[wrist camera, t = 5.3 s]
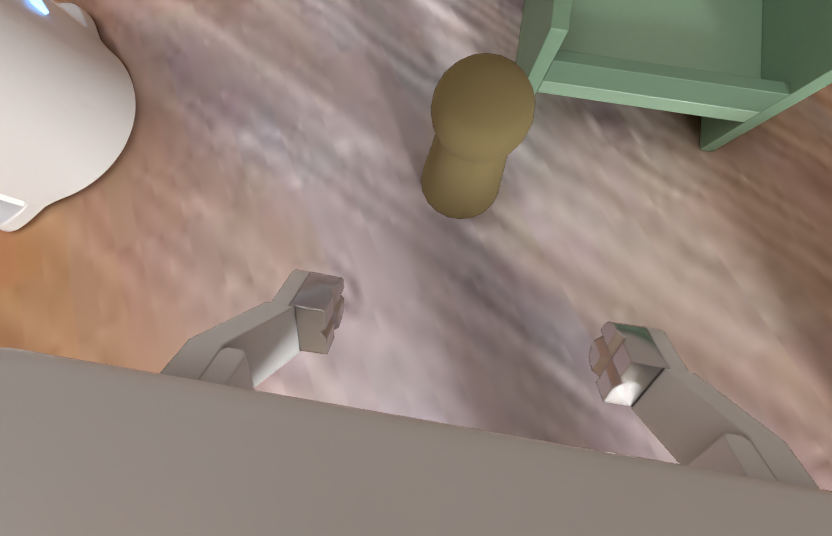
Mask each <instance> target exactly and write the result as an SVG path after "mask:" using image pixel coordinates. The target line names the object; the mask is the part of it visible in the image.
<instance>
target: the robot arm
mask: <svg viewBox="0 0 832 536" xmlns="http://www.w3.org/2000/svg"><path fill="white" fill-rule="evenodd" d="M135 110H136V100H135V91H134V87H133V83H132V80H131V78H130V75H129V73H128V72H127V70H126V68H125V66H124V65H123V64H122V62H121V61H120V60H119V59H118V58H117V56H116V55H115V54H113V53H112V52H111V51H110V50H109V49H108V48H107V47H106V46H105V45H104V44H103V43H102V41H101V40H100V37H99V34H98V31H97V28H96V26H95V23H94V21H93V19H92V18H91V16H90V15H89V14H87V13H86V12H85V11H84V10H82V9H81V8H80V7H79V6H77V5H75V4H73V3H56V2H54V1H53V0H0V230H2V231H7V232H11V231H15V230H17V229H19V228H21V227H22V226H24V225H25V224H26V223H28V222H29V221H30V220H31V219H32V218H33V217H35V216H36V215H37V214H38V213H39V212H40V211H41V210H42V209H43V208H44V207H46V206H47V205H49V204H51V203H53V202H55V201H58V200H60V199H62V198H65V197H67V196H70V195H72V194H74V193H76V192H78V191H80V190H82V189H84V188H85V187H87V186H88V185H90V184H91V183H93V182H94V181H95V180H97V179H98V178H99V177H100V176H101V175H102V174H103V173H105V172H106V171H107V170H108V169H109V167H110V166H111V165H112V164H113V163H114V162H115V160H116V159H117V158H118V156H119V155H120V153H121V152H122V150H123V148H124V147H125V145H126V143H127V141H128V138H129V136H130V133H131V130H132V127H133V123H134V118H135ZM343 289H344V279H343V278H342V277H337V276H332V275H326V274H321V273H316V272H309V271H304V270H298V269H295V270H294V271H292V272H291V274H290V275H289V277H288V278H287V280H286V281H285V283H284V284H283V286H282V287H281V289H280V290H279V292H278V293H277V294H276V296H275V297H274V299H273V300H272V302H265V303H263V304H261V305H259V306H257V307H255V308H252V309H250V310H248V311H246V312H244V313H242V314H240V315H238V316H236V317H234V318H232V319H230V320H228V321H226V322H224V323H221V324H219V325H217V326H215V327H213V328H211V329H209V330H207V331H205V332H203V333H201V334H199V335H197V336H195V337H193V338H191V339H189V340H188V341H187V342H186V343H185V345H184V346H183V347H182V348H181V349H180V350H179V352H178V353H177V354H176V355H175V356H174V357H173V359H172V360H171V361H170V362H169V363H168V364H167V366H166V367H165V368H164V369H163V370H162V371H161V373H160V374H159V373H154V372H148V371H142V370H136V369H131V368H125V367H119V366H113V365H108V364H102V363H96V362H90V361H85V360H79V359H73V358H67V357H62V356H56V355H50V354H45V353H40V352H35V351H30V350H25V349H17V348H9V347H4V348H0V536H832V491H828V490H822V489H819V487H818V486H817V485H816V483H815V482H814V480H813V479H812V478H811V476H810V475H809V474H808V472H807V471H806V470H805V468H804V467H803V465H802V464H801V463H800V461H799V460H798V459H797V457H796V456H795V455H794V453H793V452H792V450H791V449H790V448H789V446H788V445H787V444H786V442H785V441H783V440H782V439H781V438H779V437H778V436H777V435H775V434H774V433H773V432H771V431H770V430H769V429H768V428H766V427H765V426H764V425H762V424H761V423H760V422H758V421H757V420H756V419H754V418H753V417H752V416H750V415H749V414H748V413H746V412H745V411H744V410H742V409H741V408H740V407H738V406H737V405H736V404H734V403H733V402H732V401H731V400H729V399H728V398H727V397H725V396H724V395H723V394H721V393H720V392H719V391H717V390H716V389H715V388H713V387H712V386H711V385H709V384H708V383H707V382H705V381H704V380H703V379H701V378H700V377H699V376H698V375H696V374H695V373H690V372H689V371H688V369H687V368H686V366H685V365H684V363H683V361H682V360H681V358H680V356H679V355H678V353H677V352H676V350H675V348H674V347H673V345H672V343H671V342H670V340H669V339H668V337H667V335H666V334H665V332H664V331H662V330H661V329H658V328H651V327H644V326H642V327H641V326H635V325H629V324H623V323H616V322H610V321H608V322H607V323H605V324H604V326H603V327H602V329H601V333H602V337H600V338H598V339H596V340H594V342H593V344H592V346H591V348H590V353H589V361H590V366H591V369H592V371H594V372H595V373H596V374H597V375H598V376H599V378H598V380H597V382H596V383H597V386H598V389H599V392H600V395H601V398H602V400H603V402H608V403H613V404H618V405H623V406H628V407H632V408H631V409H632V410H633V411H634V412H635V413H636V414H637V415H638V417H639V418H640V419H641V420H642V421H643V422H644V423H645V425H646V426H647V427H648V428H649V429H650V430H651V432H652V433H653V434H654V435H655V436H656V437H657V438H658V440H659V441H660V442H661V443H662V444H663V445H664V446H665V448H666V449H667V450H668V451H669V452H670V453H671V455H672V456H673V457H674V458H675V459H676V460H677V461H678V463H679V464H674V463H668V462H663V461H657V460H651V459H646V458H640V457H634V456H628V455H623V454H617V453H611V452H606V451H600V450H594V449H588V448H583V447H577V446H571V445H565V444H560V443H554V442H548V441H542V440H537V439H531V438H525V437H520V436H514V435H508V434H502V433H497V432H491V431H485V430H480V429H474V428H468V427H463V426H457V425H451V424H445V423H440V422H434V421H428V420H423V419H417V418H411V417H405V416H400V415H394V414H388V413H383V412H377V411H371V410H365V409H360V408H354V407H348V406H342V405H337V404H331V403H325V402H320V401H314V400H308V399H302V398H297V397H291V396H285V395H280V394H274V393H268V392H262V391H257V390H255V389H254V387H255V386H257V385H258V384H259V383H261V382H262V381H263V380H264V379H266V378H267V377H268V376H270V375H271V374H272V373H273V372H275V371H276V370H277V369H279V368H280V367H281V366H283V365H284V364H285V363H286V362H288V361H289V360H290V359H292V358H293V357H294V356H295V355H297V354H298V353H299V352H300V351H307V352H314V353H321V354H328V352H329V350H330V347H331V345H332V342H333V340H334V330H335V329H337V328H338V327H339V325H340V323H341V320H342V316H343V312H344V298H343V296H342V295H341V294H342V292H343Z"/></svg>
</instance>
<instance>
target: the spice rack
mask: <svg viewBox="0 0 832 536" xmlns="http://www.w3.org/2000/svg"><path fill="white" fill-rule="evenodd" d="M516 64H517V65H518V66H519V67H520V68H521V69H522V70H523V71H524V72H525V74H526V76H527V77H528V79H529V81H530V83H531V85H532V87H533V91H534V96H535V94H536V92H541V93H548V94H554V95H561V96H568V97H575V98H582V99H588V100H595V101H602V102H609V103H616V104H622V105H629V106H636V107H643V108H650V109H656V110H663V111H670V112H677V113H684V114H690V115H697V116H701V136H700V150H706V151H714V150H716V149H718V148H719V147H721V146H723V145H725V144H726V143H728V142H730V141H732V140H733V139H735V138H737V137H739V136H740V135H742V134H744V133H746V132H747V131H749V130H751V129H752V128H754V127H756V126H758V125H759V124H761V123H763V122H765V121H766V120H768V119H770V118H772V117H773V116H775V115H777V114H779V113H780V112H782V111H784V110H785V109H787V108H789V107H791V106H792V105H794V104H796V103H798V102H799V101H801V100H803V99H805V98H806V97H808V96H810V95H812V94H813V93H815V92H817V91H819V90H820V89H822V88H824V87H825V86H827V85H829V84H831V83H832V0H524V7H523V14H522V22H521V29H520V36H519V44H518V51H517V59H516Z"/></svg>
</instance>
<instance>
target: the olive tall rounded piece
mask: <svg viewBox="0 0 832 536" xmlns="http://www.w3.org/2000/svg"><path fill="white" fill-rule="evenodd" d="M535 102H536V101H535V96H534V91H533V87H532V85H531V83H530V81H529V79H528V77H527V76H526V74H525V72H524V71H523V70H522V69H521V68H520V67H519V66H518V65H517V64H516V63H515V62H514V61H512V60H510V59H507V58H505V57H503V56H501V55H496V54H490V53H482V54H474V55H471V56H468V57H466V58H464V59H461V60H459V61H458V62H456V63H455V64H454V65H453V66H451V67H450V68H449V69H448V70H447V71H446V72H445V73H444V74H443V76H442V78H441V79H440V81H439V83H438V84H437V86H436V88H435V90H434V94H433V99H432V104H431V116H432V123H433V128H434V131H435V133H436V134H435V137H434V140H433V142H432V145H431V148H430V151H429V154H428V156H427V159H426V162H425V165H424V168H423V172H422V177H421V184H422V191H423V194H424V196H425V198H426V200H427V202H428V203H429V204H430V205H431V206H432V207H433V208H434V209H435V210H436V211H437V212H439V213H441V214H443V215H445V216H447V217H451V218H457V219H464V218H472V217H474V216H476V215H479V214H481V213H483V212H484V211H485V210H486V209H487V208H489V207H490V206H491V205H492V203H493V202H494V200H495V198H496V196H497V194H498V191H499V187H500V183H501V179H502V175H503V171H504V167H505V163H506V159H507V155H508V154H509V153H511V152H512V151H513V150H514V149H515V148H516V147H517V146H518V145H519V144H520V143H521V142H522V141H523V139H524V138H525V136H526V134H527V132H528V130H529V129H530V127H531V125H532V123H533V116H534V109H535Z"/></svg>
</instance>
